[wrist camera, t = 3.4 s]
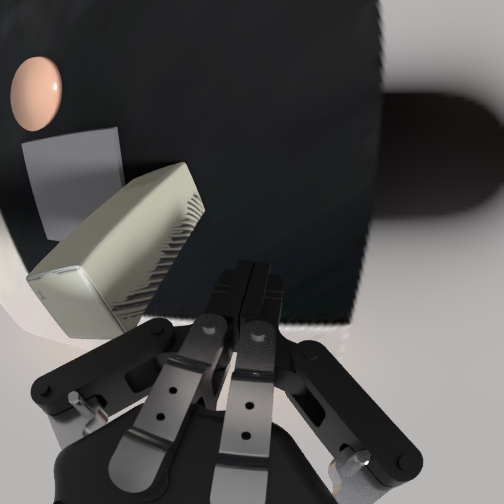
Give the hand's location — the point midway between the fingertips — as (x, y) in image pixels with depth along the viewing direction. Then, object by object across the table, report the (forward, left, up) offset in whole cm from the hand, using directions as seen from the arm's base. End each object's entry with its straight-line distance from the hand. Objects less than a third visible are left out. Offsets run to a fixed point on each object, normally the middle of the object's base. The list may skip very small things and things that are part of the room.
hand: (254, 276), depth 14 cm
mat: (0, -18, -9) cm, 20 cm away
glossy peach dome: (-10, -21, -9) cm, 25 cm away
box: (0, -8, -9) cm, 12 cm away
